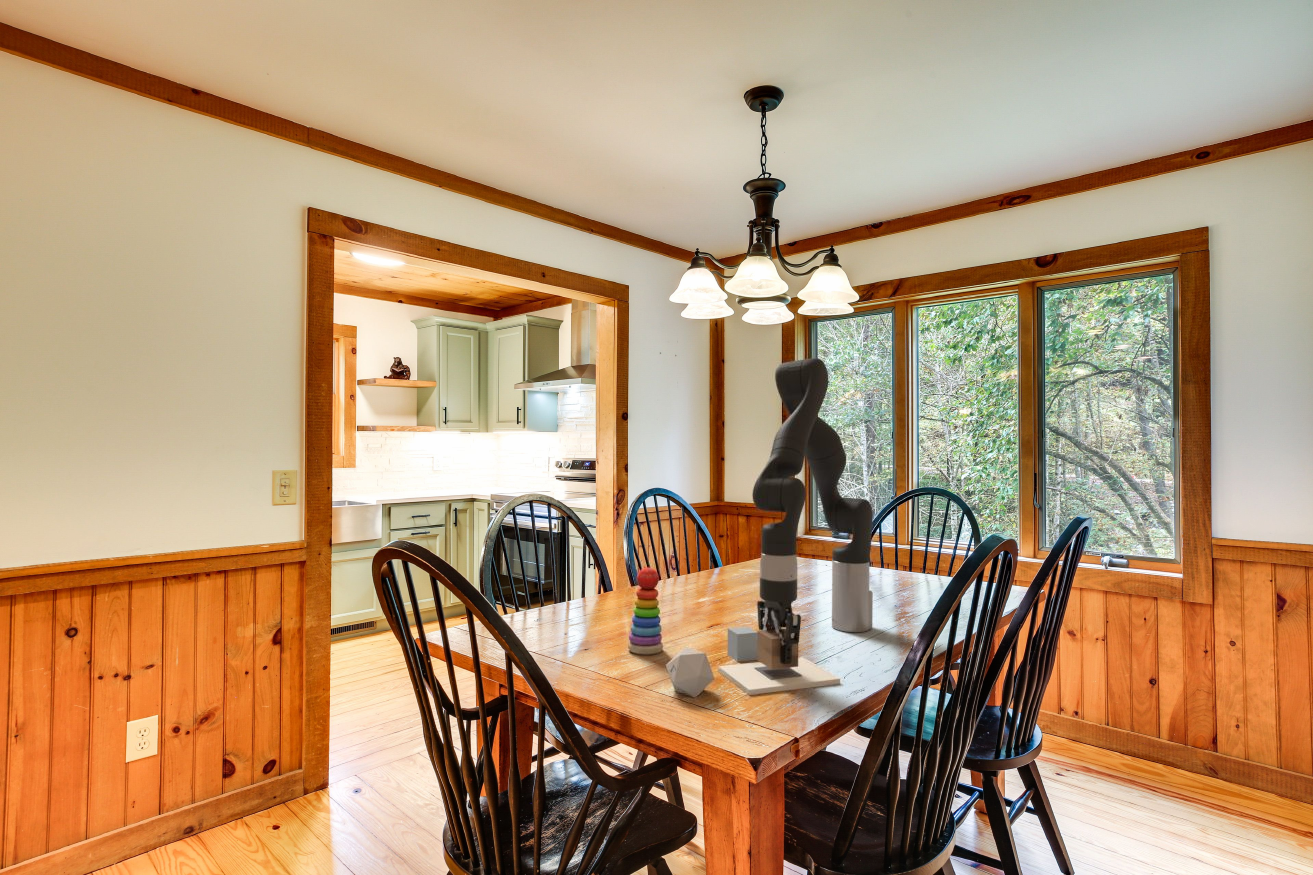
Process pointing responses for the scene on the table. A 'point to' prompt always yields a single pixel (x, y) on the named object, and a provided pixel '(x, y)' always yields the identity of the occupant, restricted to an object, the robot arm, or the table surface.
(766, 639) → the walnut block
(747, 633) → the slate block
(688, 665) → the die
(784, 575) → the robot arm
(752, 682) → the cream board
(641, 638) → the stacking toy
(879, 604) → the table surface
